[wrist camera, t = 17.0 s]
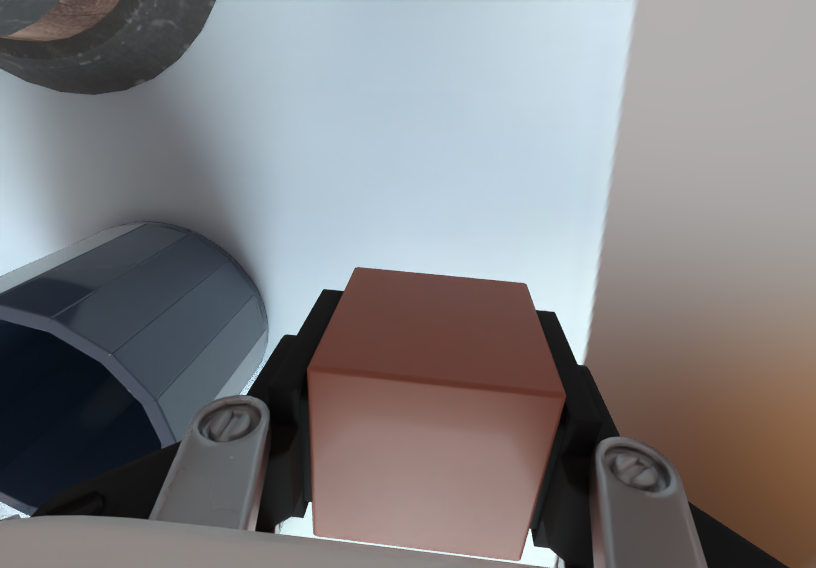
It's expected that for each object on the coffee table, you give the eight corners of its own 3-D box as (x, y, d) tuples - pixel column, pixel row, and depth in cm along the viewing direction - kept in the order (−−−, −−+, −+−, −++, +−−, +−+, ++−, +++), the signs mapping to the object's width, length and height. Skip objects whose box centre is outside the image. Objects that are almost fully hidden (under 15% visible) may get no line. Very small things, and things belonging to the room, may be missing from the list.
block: (352, 399, 13) (311, 538, 9) (354, 265, 11) (304, 367, 7) (499, 416, 13) (521, 563, 9) (527, 281, 11) (568, 395, 7)
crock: (39, 279, 26) (-163, 378, 18) (176, 182, 23) (8, 247, 14) (172, 416, 30) (57, 554, 21) (306, 350, 27) (234, 481, 18)
